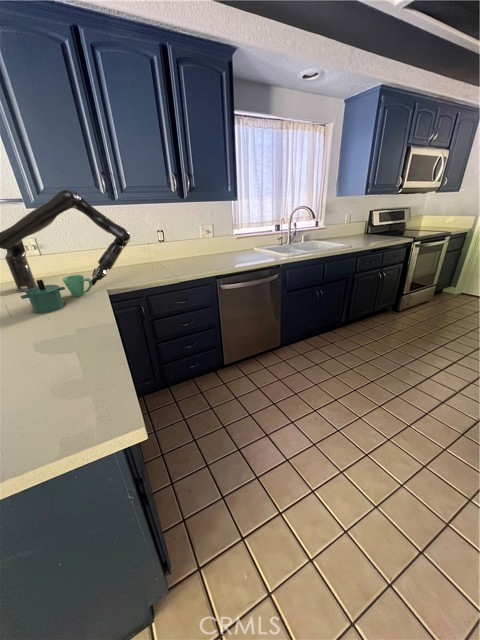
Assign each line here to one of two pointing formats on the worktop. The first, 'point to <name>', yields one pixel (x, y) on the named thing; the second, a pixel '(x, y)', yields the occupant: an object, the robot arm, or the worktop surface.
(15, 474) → the worktop surface
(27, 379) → the worktop surface
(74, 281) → the mug
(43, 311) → the pot
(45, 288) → the pot lid
